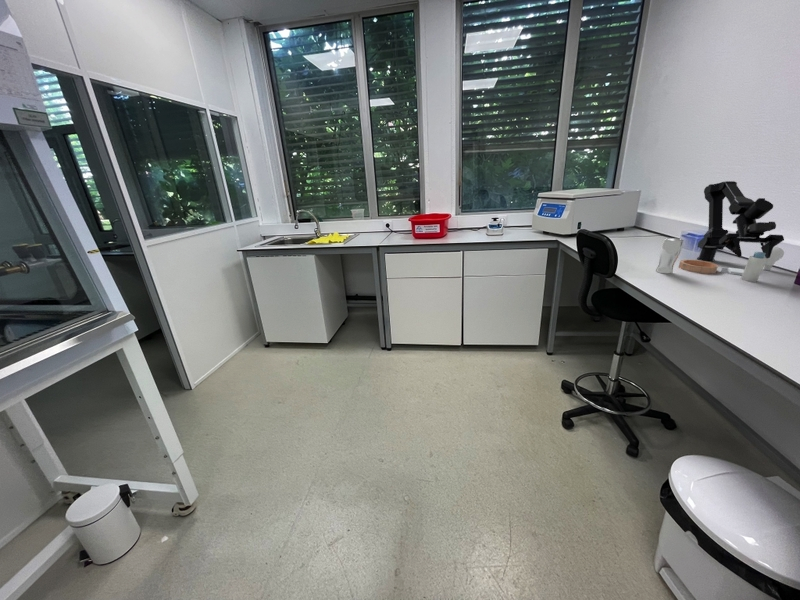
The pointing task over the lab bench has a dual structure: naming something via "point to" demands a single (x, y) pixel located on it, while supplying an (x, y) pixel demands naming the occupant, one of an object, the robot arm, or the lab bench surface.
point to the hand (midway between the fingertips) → (754, 257)
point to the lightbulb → (773, 258)
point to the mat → (727, 271)
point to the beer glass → (669, 255)
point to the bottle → (754, 267)
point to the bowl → (698, 266)
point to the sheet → (736, 271)
